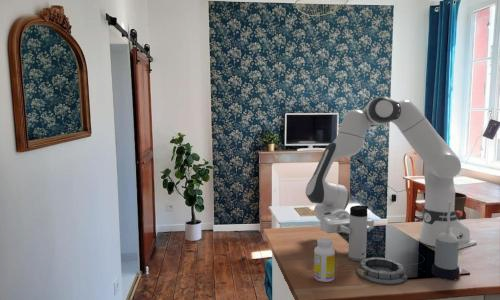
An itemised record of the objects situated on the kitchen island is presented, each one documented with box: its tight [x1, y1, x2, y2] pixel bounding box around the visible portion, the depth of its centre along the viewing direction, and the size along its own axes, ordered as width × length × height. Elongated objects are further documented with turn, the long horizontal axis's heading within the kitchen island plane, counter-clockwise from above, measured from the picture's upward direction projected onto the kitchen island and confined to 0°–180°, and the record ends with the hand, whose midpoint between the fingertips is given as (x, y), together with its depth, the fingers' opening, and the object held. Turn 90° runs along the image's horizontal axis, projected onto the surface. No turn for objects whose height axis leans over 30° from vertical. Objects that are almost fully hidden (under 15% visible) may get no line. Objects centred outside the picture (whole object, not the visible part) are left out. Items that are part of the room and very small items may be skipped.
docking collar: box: [356, 256, 408, 286], centre depth 125 cm, size 16×16×3 cm
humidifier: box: [431, 201, 462, 281], centre depth 123 cm, size 8×8×25 cm
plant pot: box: [454, 191, 468, 222], centre depth 175 cm, size 15×15×16 cm
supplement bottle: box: [313, 237, 336, 283], centre depth 121 cm, size 7×7×13 cm
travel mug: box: [348, 205, 370, 263], centre depth 137 cm, size 6×7×20 cm
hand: (359, 230), depth 136 cm, fingers closed on travel mug, 6 cm apart
